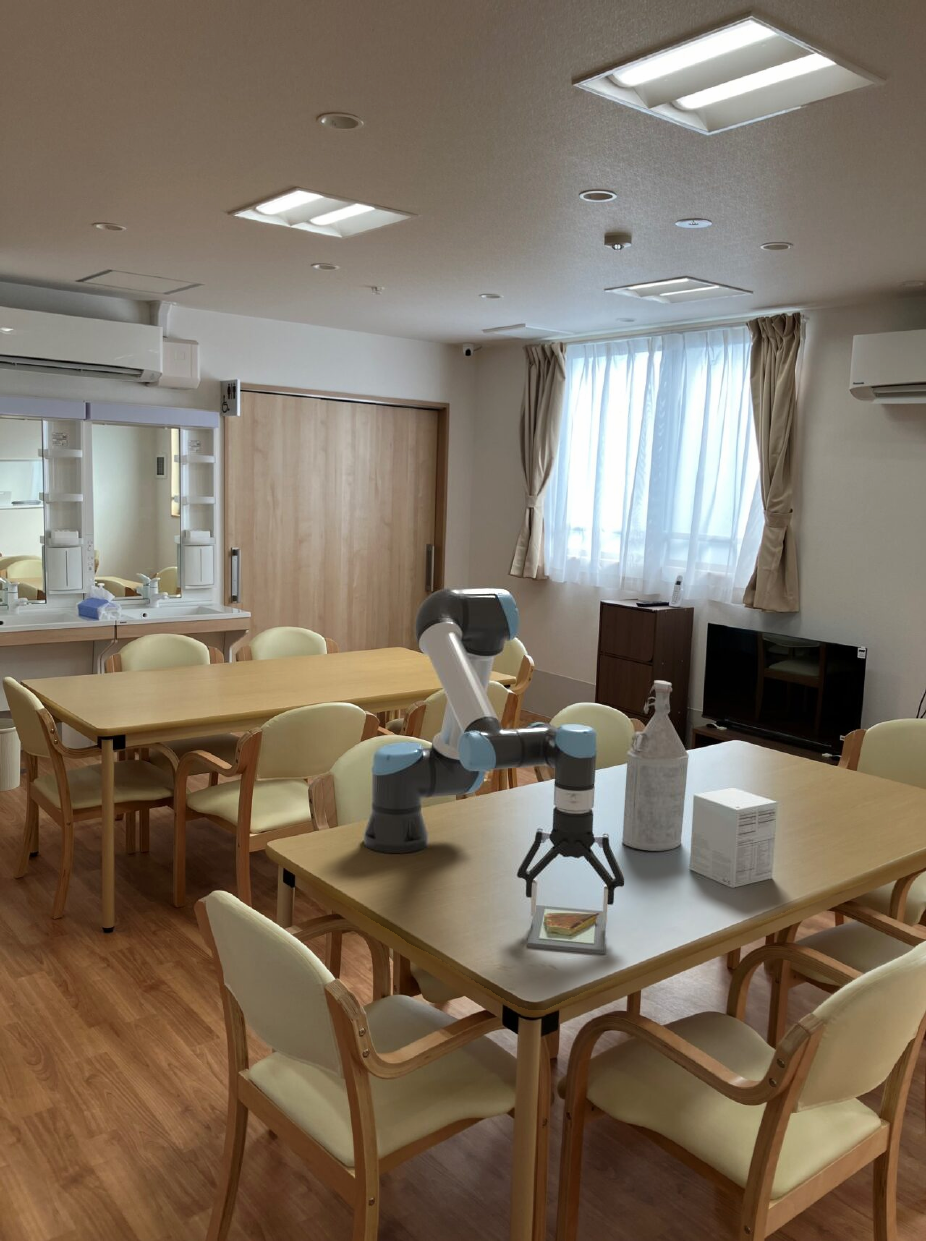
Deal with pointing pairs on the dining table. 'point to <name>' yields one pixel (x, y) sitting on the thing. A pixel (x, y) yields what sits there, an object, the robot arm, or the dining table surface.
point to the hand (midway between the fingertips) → (568, 916)
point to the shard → (568, 922)
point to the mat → (579, 941)
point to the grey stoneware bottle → (655, 781)
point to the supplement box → (733, 836)
